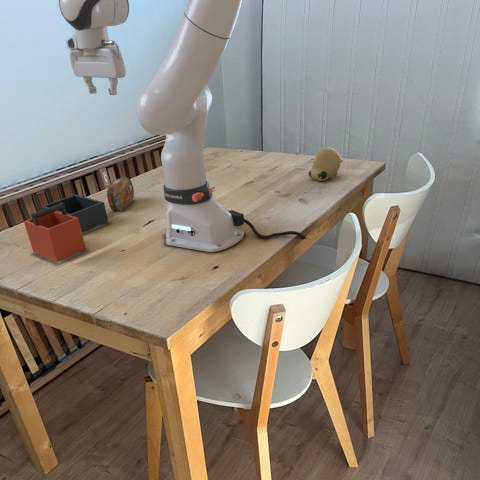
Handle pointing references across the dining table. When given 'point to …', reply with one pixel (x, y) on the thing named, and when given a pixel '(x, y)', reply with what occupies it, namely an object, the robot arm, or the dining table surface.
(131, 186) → the tin
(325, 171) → the beige plush toy
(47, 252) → the terracotta bin
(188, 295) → the dining table surface
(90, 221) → the slate bin
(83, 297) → the dining table surface
